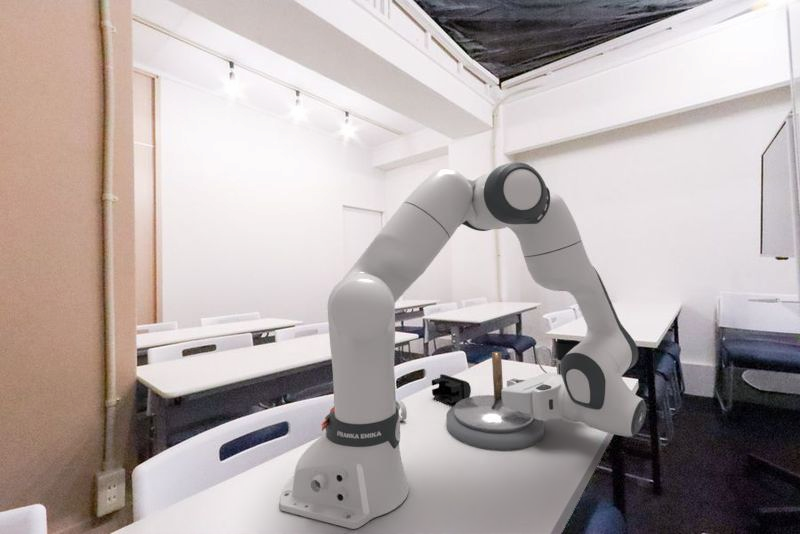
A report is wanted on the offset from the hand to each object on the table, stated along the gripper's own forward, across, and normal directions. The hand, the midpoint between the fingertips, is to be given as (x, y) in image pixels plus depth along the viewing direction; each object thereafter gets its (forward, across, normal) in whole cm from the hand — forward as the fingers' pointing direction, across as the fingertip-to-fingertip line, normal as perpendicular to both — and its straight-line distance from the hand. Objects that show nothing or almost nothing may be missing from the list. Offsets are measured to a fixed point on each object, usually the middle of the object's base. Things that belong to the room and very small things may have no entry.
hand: (510, 382), depth 89 cm
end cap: (+20, +3, +9) cm, 22 cm away
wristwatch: (+18, +23, +9) cm, 31 cm away
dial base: (0, +8, +9) cm, 12 cm away
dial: (0, +7, +6) cm, 10 cm away
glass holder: (+2, -28, +10) cm, 30 cm away
